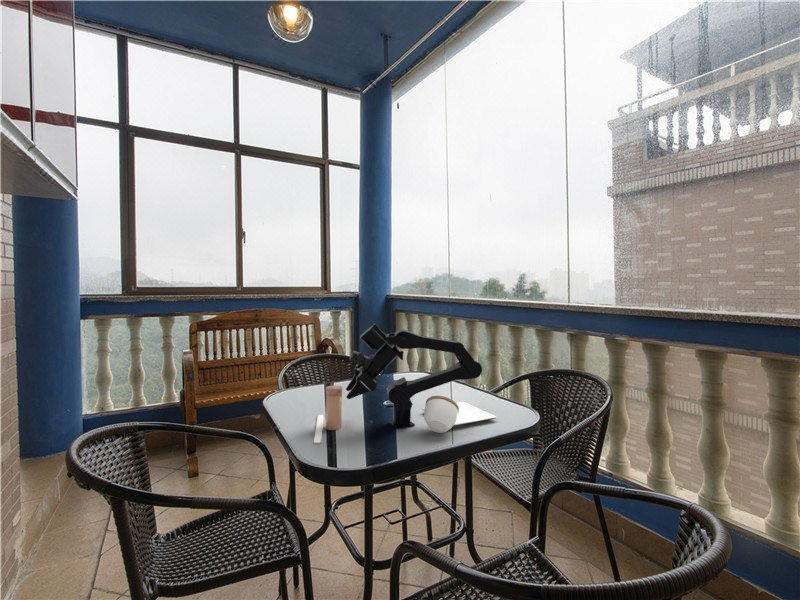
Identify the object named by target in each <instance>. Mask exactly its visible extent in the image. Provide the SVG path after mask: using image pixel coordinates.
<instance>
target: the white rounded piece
mask: <svg viewBox="0 0 800 600" xmlns="http://www.w3.org/2000/svg"><path fill="white" fill-rule="evenodd" d="M456 403H457V402H455V401H454V400H453V399H452V398H450V397H447V396H443V395H442V396H441V395H432V396H430V397H428V398H427V399H426V401H425V404H424V408H425V409H424V410H423V418H424V422H425V423H426V425H427V427H428V429H429V430H431V431H432V432H435V433H438V434H443V433H446V432H447V431H449V430H451V429H452V428H453V427H454V424H455V422H456V419H457V416H458V413H459V407H458V405H457V404H456Z"/></svg>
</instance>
